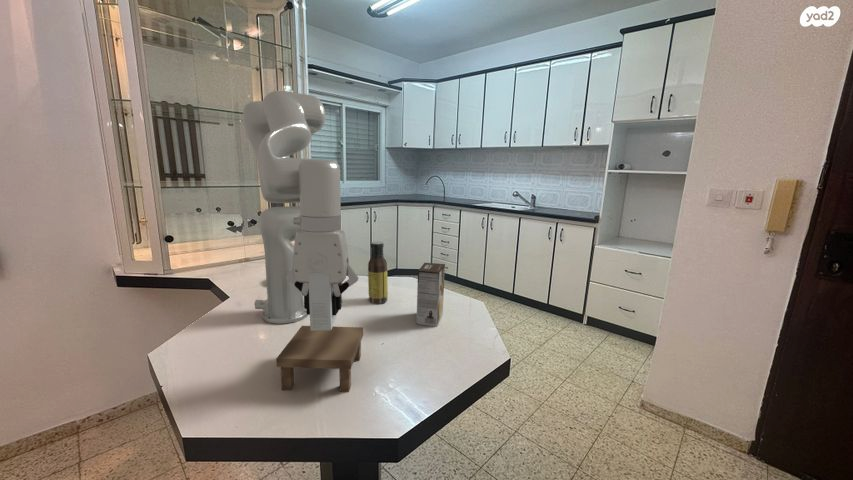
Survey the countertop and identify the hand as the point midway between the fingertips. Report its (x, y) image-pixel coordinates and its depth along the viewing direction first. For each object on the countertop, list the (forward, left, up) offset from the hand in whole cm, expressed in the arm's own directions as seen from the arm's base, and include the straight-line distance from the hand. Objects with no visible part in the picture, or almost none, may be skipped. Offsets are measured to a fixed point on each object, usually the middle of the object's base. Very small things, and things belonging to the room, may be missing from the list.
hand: (323, 311), depth 70 cm
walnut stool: (0, 0, -14) cm, 14 cm away
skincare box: (0, 0, -3) cm, 3 cm away
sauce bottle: (+6, +41, -14) cm, 44 cm away
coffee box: (+23, +28, -14) cm, 39 cm away
